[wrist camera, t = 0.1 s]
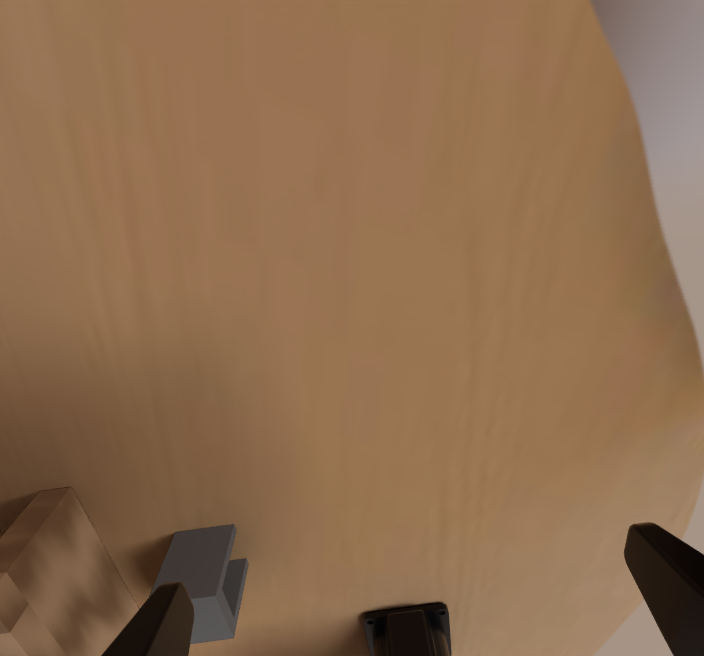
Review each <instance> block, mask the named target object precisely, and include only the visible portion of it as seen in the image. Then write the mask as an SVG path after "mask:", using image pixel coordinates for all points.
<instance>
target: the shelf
mask: <svg viewBox="0 0 704 656" xmlns="http://www.w3.org/2000/svg"><path fill="white" fill-rule="evenodd" d="M138 610H139V608H138V607H137V605H136V603H135V601H134V599H133V598H132V596H131V594H130V592H129V590H128V589H127V587H126V585H125V583H124V581H123V580H122V578H121V576H120V574H119V572H118V571H117V569H116V567H115V565H114V563H113V562H112V560H111V558H110V556H109V554H108V553H107V551H106V549H105V547H104V545H103V544H102V542H101V540H100V538H99V536H98V535H97V533H96V531H95V529H94V527H93V526H92V524H91V522H90V520H89V519H88V517H87V515H86V513H85V511H84V510H83V508H82V506H81V504H80V502H79V501H78V499H77V497H76V495H75V493H74V492H73V490H72V488H71V487H68V488H61V489H53V490H46V491H40V492H39V493H38V494H37V495H36V496H35V497H34V499H33V500H32V501H31V502H30V503H29V505H28V506H27V507H26V508H25V509H24V511H23V512H22V513H21V514H20V515H19V516H18V518H17V519H16V520H15V521H14V522H13V524H12V525H11V526H10V527H9V528H8V530H7V531H6V532H5V533H4V534H3V535H2V537H1V538H0V656H101V655H102V654H103V653H104V651H105V650H106V649H107V648H108V647H109V645H110V644H111V643H112V642H113V641H114V639H115V638H116V637H117V636H118V634H119V633H120V632H121V631H122V630H123V628H124V627H125V626H126V625H127V624H128V622H129V621H130V620H131V619H132V618H133V616H134V615H135V614H136V613H137V611H138Z"/></svg>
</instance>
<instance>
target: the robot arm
mask: <svg viewBox="0 0 704 656" xmlns="http://www.w3.org/2000/svg"><path fill="white" fill-rule="evenodd" d="M624 557H625V561H626V564H627V566H628V568H629V570H630V572H631V574H632V576H633V578H634V580H635V582H636V584H637V586H638V588H639V590H640V592H641V593H642V595H643V597H644V599H645V601H646V603H647V605H648V607H649V609H650V611H651V613H652V615H653V617H654V619H655V621H656V623H657V625H658V627H659V629H660V631H661V633H662V635H663V637H664V639H665V641H666V642H667V644H668V646H669V648H670V650H671V652H672V653H673V655H674V656H704V555H703V554H702V553H700V552H699V551H697V550H696V549H694V548H693V547H691V546H689V545H688V544H686V543H685V542H683V541H682V540H680V539H679V538H677V537H675V536H674V535H672V534H671V533H669V532H668V531H666V530H665V529H663V528H661V527H660V526H658V525H656V524H654V523H650V522H647V523H639V524H633V525H631V526H630V527H629V530H628V535H627V539H626V544H625V549H624ZM363 621H364V627H365V632H366V637H367V642H368V647H369V652H370V656H451V640H450V625H449V612H448V608H447V605H446V604H434V605H426V606H419V607H411V608H403V609H396V610H388V611H380V612H373V613H367V614H365V615H364V616H363ZM193 623H194V606H193V604H192V601H191V599H190V597H189V595H188V592H187V590H186V588H185V586H184V584H183V583H182V582H180V581H178V582H170V583H164V584H161V585H160V586H159V587H157V589H156V590H155V591H154V592H153V593H152V595H151V596H150V597H149V598H148V599H147V601H146V602H145V603H144V604H143V605H142V607H141V608H140V609H139V610H138V611H137V613H136V614H135V615H134V616H133V618H132V619H131V620H130V621H129V622H128V624H127V625H126V626H125V627H124V628H123V630H122V631H121V632H120V633H119V634H118V636H117V637H116V638H115V639H114V641H113V642H112V643H111V644H110V645H109V647H108V648H107V649H106V650H105V651H104V653H103V654H102V655H101V656H188V654H189V647H190V641H191V635H192V629H193Z"/></svg>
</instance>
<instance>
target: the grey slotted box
mask: <svg viewBox="0 0 704 656" xmlns="http://www.w3.org/2000/svg"><path fill="white" fill-rule="evenodd" d="M235 534H236V528H235V525H234V524H232V525H225V526H217V527H210V528H203V529H195V530H188V531H181V532H175V534H174V537H173V539H172V542H171V544H170V547H169V549H168V552H167V554H166V556H165V559H164V561H163V564H162V566H161V569H160V571H159V574H158V576H157V579H156V581H155V584H154V586H153V589H152V591H151V593H150V596H151V595H152V593H153V592H154V591H155V590H156V589H157V587H159V586H160V585H161V584H164V583H170V582H178V581H180V582H182V583H183V584H184V586H185V588H186V590H187V592H188V595H189V597H190V599H191V601H192V604H193V606H194V623H193V629H192V635H191V641H190V644H194V643H202V642H210V641H217V640H225V639H232V638H234V634H235V629H236V624H237V619H238V614H239V609H240V604H241V599H242V594H243V589H244V584H245V579H246V574H247V569H248V565H249V564H248V561H247V559H240V560H232V561H229V558H230V554H231V550H232V546H233V542H234V538H235ZM150 596H149V597H150Z"/></svg>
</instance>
